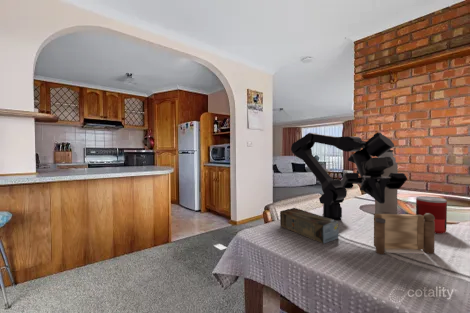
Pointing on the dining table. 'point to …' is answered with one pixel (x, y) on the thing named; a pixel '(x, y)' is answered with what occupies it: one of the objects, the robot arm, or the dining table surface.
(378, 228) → the post
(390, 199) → the thermos bottle
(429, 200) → the canned food
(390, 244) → the gate
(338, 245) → the dining table surface
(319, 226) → the beverage carton
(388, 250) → the threshold
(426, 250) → the hinge post
